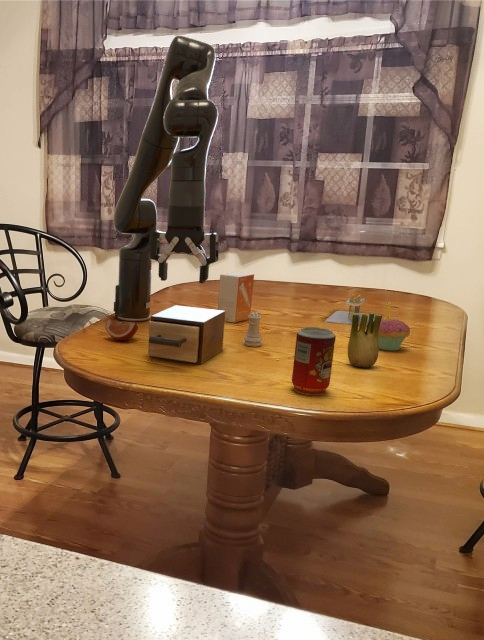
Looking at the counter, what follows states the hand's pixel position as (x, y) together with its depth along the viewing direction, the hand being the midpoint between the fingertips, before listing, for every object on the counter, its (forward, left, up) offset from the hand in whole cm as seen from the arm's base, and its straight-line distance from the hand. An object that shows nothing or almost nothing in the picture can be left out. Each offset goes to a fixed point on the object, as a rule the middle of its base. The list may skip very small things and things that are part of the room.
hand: (182, 281), depth 147 cm
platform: (+25, +72, -19) cm, 78 cm away
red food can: (+29, -4, -19) cm, 35 cm away
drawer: (-2, +4, -17) cm, 18 cm away
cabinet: (-2, +10, -18) cm, 21 cm away
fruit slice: (-21, +14, -19) cm, 31 cm away
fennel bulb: (+35, +20, -19) cm, 44 cm away
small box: (-4, +52, -19) cm, 55 cm away
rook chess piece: (+9, +26, -19) cm, 33 cm away
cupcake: (+38, +40, -19) cm, 58 cm away
